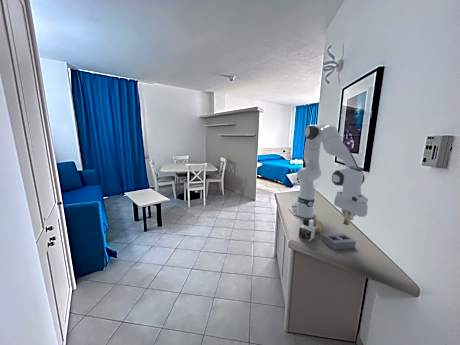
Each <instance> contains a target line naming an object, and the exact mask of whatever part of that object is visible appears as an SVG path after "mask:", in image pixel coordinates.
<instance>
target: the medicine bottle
mask: <svg viewBox="0 0 460 345" xmlns="http://www.w3.org/2000/svg"><path fill="white" fill-rule="evenodd" d="M314 222H315V221H314V219H312V218H305V217H304V218H303V221H302V225H301V226H299V231H298V232H299V233H298V238H300V239H303V240H305V241H307V242H311V241H312V240H313V239H314V238H315V235H316V234H315V229H316V226H314V225H315V224H314Z"/></svg>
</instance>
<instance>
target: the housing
mask: <svg viewBox="0 0 460 345" xmlns="http://www.w3.org/2000/svg"><path fill="white" fill-rule="evenodd" d="M321 241H322V242H323V243H324V244H325V245H327V246H328V247H330V248H331V249H332V250H334V251H335V250H345V249H355V248H356V244H357V241H356V240H355V239H353V238H351V237H350V236H348V235H346V234H345V233H343V232H340V233H327V234H322V240H321Z"/></svg>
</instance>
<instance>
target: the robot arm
mask: <svg viewBox="0 0 460 345" xmlns="http://www.w3.org/2000/svg"><path fill="white" fill-rule="evenodd" d="M304 137H305V139H306V140H305V143H304V144H305V145H304V150H303V151H304V152H303V160H304V164H305V167H302V168H300V169H299V170H298V171H297V173H296V177H297V180H298V181H299V194H298V195H299V196H297V200H296V201H294V202H292V203H291V207H288V210H289V211H290V212H291V214H292V215H294V216H296V217H301V218H304V219H305V218H310V219H312V218H314V217H315V215H316V212H315V192H316V188H315V186H314V181H316V180H318V179H319V178H320V177H321V176H322V170H321V168H320V153H321V152H320V151H321V144H322V146H323V150H324V151H325V153H327V154H329V155H330V156H333V157H337V158H339V159H340V160H341V161H342V162H343V163H344V165H345V167H346V168H343V169H338V170H337V169H336V170H334V172H333V173H332V175H331V181H332V183H333V185H335V186H338V187H343V188H342V190H341V191H340V190H338V191H337V192H336V195H335V196H334V200H333V204H334V206H335V207H337V208H340V209H341V214H342V215H341V216H342V217H343V218H344V216H345V210H346V211H348V212H350V213H351V216H349V217H348V219H349V220H350V221H353V220H354V217H356V216H357V217H359V218H364V217H366V216H367V214H368V208H369V207H368V203H369V198H368V197H366V196H365V195H364V194H363V193H361V192H362V188H361V187H362V186H363V184H364V182H365V175H364V171H363V169H362V168H361V167H360V166H359V165H358V164H357V161H356V160H355V158H354V155H353V154H352V152H351V150H350V149H349V148H348V146H346V145H345V144H344V142H343V140H342V138H341V134H340V133H339V130H338V129H337V127H336V126H334V125H332V124H331V125H330V124H329V125H328V124H309V125H308V124H307V125H306V127H305V129H304Z"/></svg>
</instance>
